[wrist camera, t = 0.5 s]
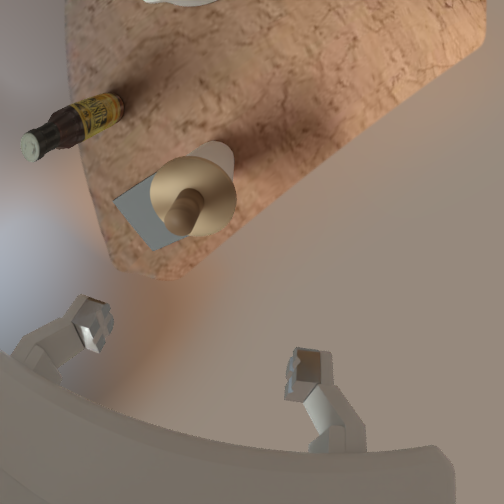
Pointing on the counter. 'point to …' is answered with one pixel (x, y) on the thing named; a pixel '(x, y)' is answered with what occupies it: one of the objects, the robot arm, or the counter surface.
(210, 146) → the foam cup
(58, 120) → the sauce bottle
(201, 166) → the lid
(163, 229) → the mat
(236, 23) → the counter surface
